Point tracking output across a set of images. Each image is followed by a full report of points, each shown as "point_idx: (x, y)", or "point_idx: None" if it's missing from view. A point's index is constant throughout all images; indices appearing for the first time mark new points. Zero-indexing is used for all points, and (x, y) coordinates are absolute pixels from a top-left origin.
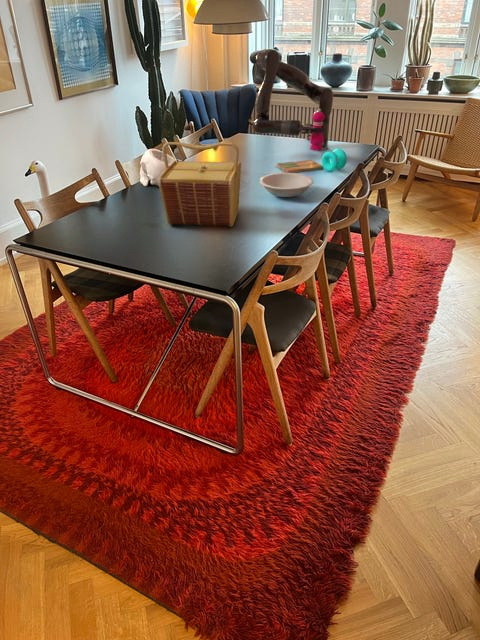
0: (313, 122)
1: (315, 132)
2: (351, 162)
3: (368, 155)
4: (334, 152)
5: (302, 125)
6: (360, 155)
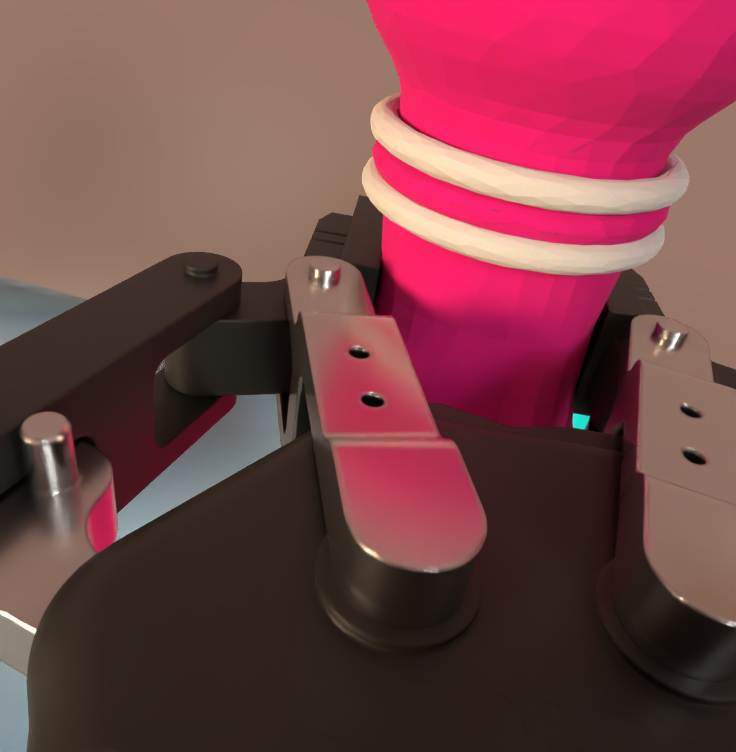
0: (624, 197)
1: (571, 412)
2: (267, 403)
3: (45, 290)
4: (586, 421)
5: (351, 708)
6: (26, 326)
